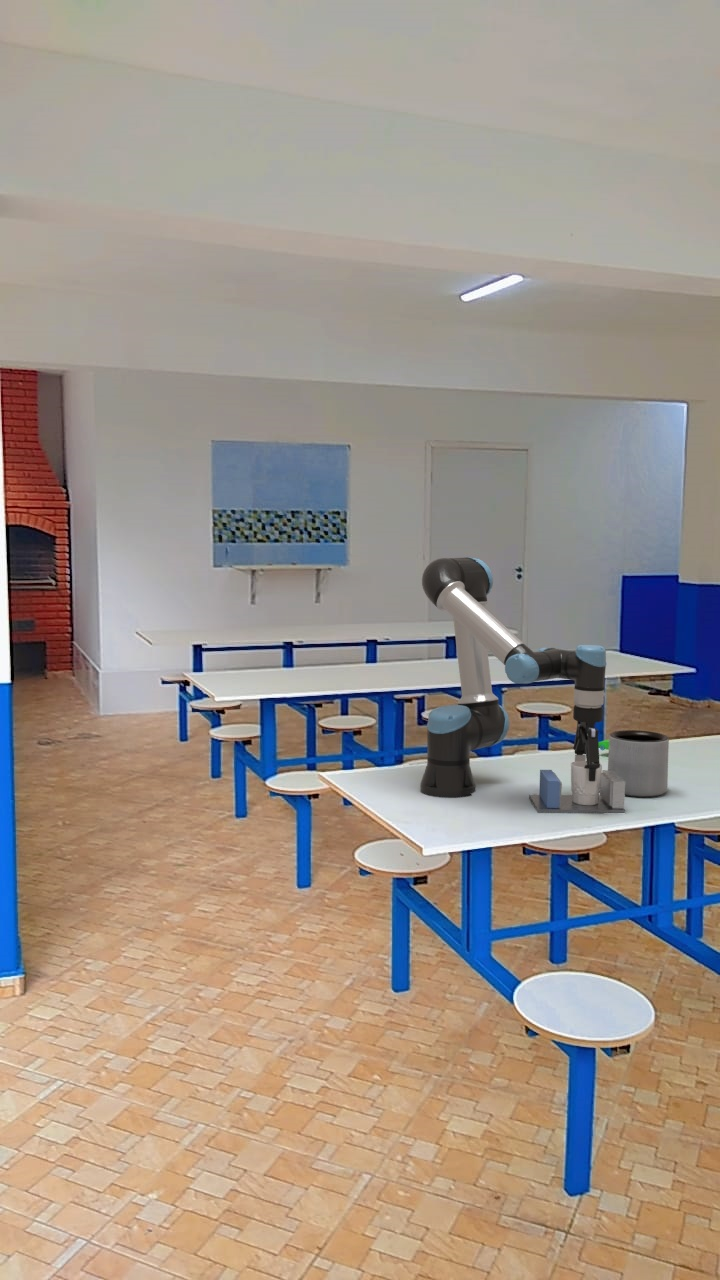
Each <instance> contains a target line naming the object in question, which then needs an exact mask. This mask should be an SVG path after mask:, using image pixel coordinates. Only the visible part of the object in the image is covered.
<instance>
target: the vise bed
mask: <svg viewBox="0 0 720 1280" xmlns="http://www.w3.org/2000/svg"><path fill="white" fill-rule="evenodd" d="M528 796H529V797H528V799H529V800H530V802H531V804H532V805H533V807H534V810H535V811H536V812H537V813H538V814H599V815H600V814H603V815H604V813H625V814H626V809H625V808H624V809H612V808H611V806H609V805H608V804H607V803H606V801H605V800H604V799H603V798H602V797H601V796H600V794H599V801H598V804H595V805H580V804H576V803H574V802H572V794H571V795H570V794H561V806H559V808H547V807H546V805H545V804H544V802H543V800H542V799H541V797H540V796H539V794H529V795H528Z"/></svg>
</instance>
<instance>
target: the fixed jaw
mask: <svg viewBox="0 0 720 1280" xmlns="http://www.w3.org/2000/svg"><path fill="white" fill-rule="evenodd" d="M599 795H600V796H601V797H602V798H603V799H604V800H605V801H606V803H607V804H608V805H609V806H611V808H612V809H625V801H626V800H625V797H626V795H625V781H624V780H623V779H622V778H621V777H620V776H619V775H618V774H617V773H616V772H615V771H614V770H608V769H605V770H603V769H602V772H601V784H600V793H599Z"/></svg>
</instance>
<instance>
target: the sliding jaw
mask: <svg viewBox="0 0 720 1280" xmlns="http://www.w3.org/2000/svg"><path fill="white" fill-rule="evenodd" d="M562 785H563V783H562V781H561V779H560V778H559V777H558V775H557V774H556V773H555V772H554V771H553V769H540V770H539V790H538V791H539V792H538V793H539V794H538V795H539V796H540V797H541V799H542V800H543V802H544V804H545V805H546V807H547V808H559V806H561V795H562V790H563V789H562Z"/></svg>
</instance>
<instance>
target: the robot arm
mask: <svg viewBox="0 0 720 1280" xmlns="http://www.w3.org/2000/svg"><path fill="white" fill-rule="evenodd" d="M492 573H493V572H492V571H491V569H490V567H489V566H488V565H487V563H485V562H484V560H481V559H479V558H474V557H469V556H467V557H452V558H451V557H450V558H449V557H443V558H442V557H441V558H437V559H435V560H433V561H431V562H429V564H427V566H426V567H425V569H424V571H423V573H422V578H421V586H422V589H423V591H424V593H425V595H426V597H427V599H428V600H429V601H430V602H431V603H432V604H433V606H435V607H436V608H437V609H438V610H440V611H446V612H447V613H448V614H449V615H450V616H451V617H452V618H453V626H454V637H455V645H456V654H457V661H458V662H457V663H458V673H459V679H460V688H461V697H460V699H458V701H457V704H449V705H442V706H438V707H435V708H433V709H432V710H431V711H429V713H428V718H427V723H426V728H427V735H426V736H427V737H426V738H427V747H426V749H427V752H426V753H427V755H426V756H427V759H426V760H427V761H426V763H427V764H426V765H425V769H424V773H423V776H422V777H421V781H420V793H421V794H423V795H426V796H428V797H434V798H441V799H442V798H443V799H444V798H445V799H457V798H466V797H471V796H473V794H474V793H475V792H476V782H475V778H474V776H473V773H472V769H471V765H470V758H471V751H474V750H478V749H482V748H491V747H493V746H495V745H497V744H499V743H501V742H502V741H503V740H505V738H506V736H507V735H508V732H509V728H510V718H509V715H508V712H507V710H505V708H504V707H503V706H502V705H500V701H499V697H498V696H496V695H495V694H494V693H493V688H492V680H491V671H490V670H491V669H490V662H489V653H488V651H489V652H490V653H491V654H492V655H493V656H494V657H496V659H497V660H499V661H500V662H501V663H502V664H503V665H504V672H505V673H506V677H507V679H508V680H509V681H511V682H512V683H514V684H517V685H518V684H532V683H536V682H541V681H547V680H552V679H562V680H570V681H574V689H573V703H574V706H573V714H572V717H573V720H574V721H575V722H576V732H575V737H574V743H573V750H574V754H575V755H574V762H576V761H587V765H585V767H584V768H586V776H585V793H594V794H596V784H597V769H598V768H599V767H600V764H601V762H600V748H599V745H598V742H599V729H598V728H596V725H595V724H596V723H601V722H602V721H604V707H603V705H604V702H605V701H604V700H605V697H607V693H606V692H605V682H606V681H605V680H606V669H607V668H606V667H607V651H606V648H605V647H604V646H602V645H597V644H579V645H578V646H576V649H575V651H573V650H566V649H561V648H555V647H541V648H540V649H538V651H533V650H532V649H531V648H530V647H528V646H527V645H526V644H525V643H524V642H522V640H521V639H520V638H518V637H517V636H516V635H515V634H514V633H513V632H512V631H511V630H509V629H508V628H507V627H506V626H505V625H504V624H503V623H502V622H501V621H500V620H499V619H497V617H495V616H494V615H493V614H492V613H491V612H490V611H489V610H487V608H485V606H486V605H487V603H488V597H487V596H488V595H489V594H490V592H491V589H492V588H493V583H494V577H493V574H492Z"/></svg>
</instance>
